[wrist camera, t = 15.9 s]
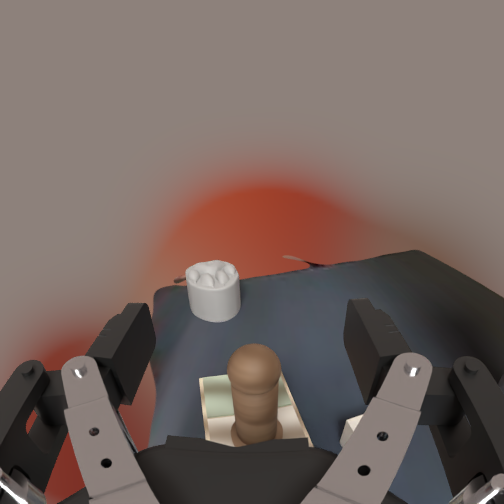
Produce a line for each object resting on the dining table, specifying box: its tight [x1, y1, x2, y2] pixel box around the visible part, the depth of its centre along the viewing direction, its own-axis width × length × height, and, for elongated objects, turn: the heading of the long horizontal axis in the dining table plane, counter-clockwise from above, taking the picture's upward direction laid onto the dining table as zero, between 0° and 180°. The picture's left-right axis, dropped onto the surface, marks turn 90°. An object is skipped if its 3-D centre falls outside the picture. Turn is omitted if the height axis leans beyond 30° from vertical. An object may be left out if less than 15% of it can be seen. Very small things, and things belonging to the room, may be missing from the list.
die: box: [340, 414, 364, 448], centre depth 28 cm, size 5×5×5 cm
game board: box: [199, 371, 314, 447], centre depth 27 cm, size 32×12×2 cm, turn 11°
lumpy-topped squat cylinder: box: [186, 260, 241, 322], centre depth 62 cm, size 10×13×9 cm
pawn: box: [227, 344, 283, 447], centre depth 28 cm, size 6×6×14 cm
